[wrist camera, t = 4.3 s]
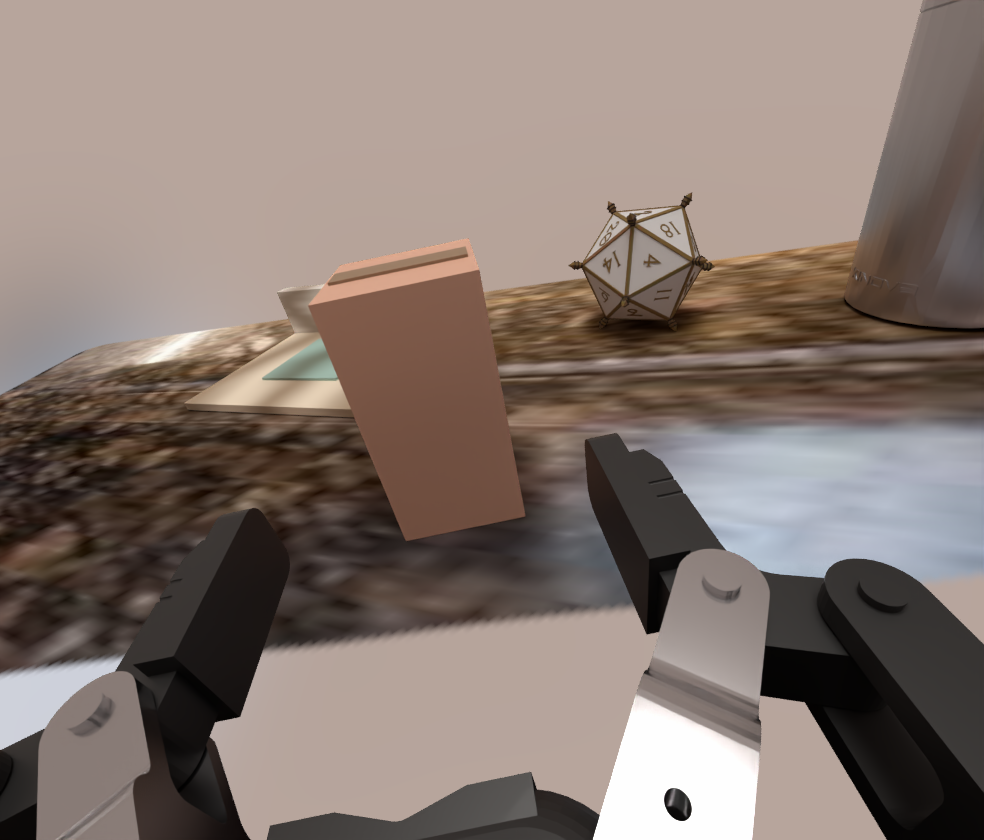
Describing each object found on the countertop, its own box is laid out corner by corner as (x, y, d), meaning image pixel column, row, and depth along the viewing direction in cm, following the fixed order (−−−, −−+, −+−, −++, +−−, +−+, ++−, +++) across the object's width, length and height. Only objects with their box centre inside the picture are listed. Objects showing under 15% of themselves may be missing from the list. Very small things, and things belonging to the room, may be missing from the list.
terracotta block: (508, 445, 22) (467, 235, 17) (525, 516, 18) (478, 266, 12) (411, 465, 22) (339, 262, 17) (405, 541, 18) (306, 302, 12)
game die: (646, 379, 32) (622, 306, 24) (572, 317, 36) (530, 236, 28) (742, 292, 31) (754, 183, 23) (655, 239, 35) (636, 131, 27)
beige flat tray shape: (469, 327, 37) (457, 272, 34) (388, 419, 26) (363, 349, 24) (305, 333, 43) (285, 287, 41) (188, 409, 33) (152, 354, 30)
